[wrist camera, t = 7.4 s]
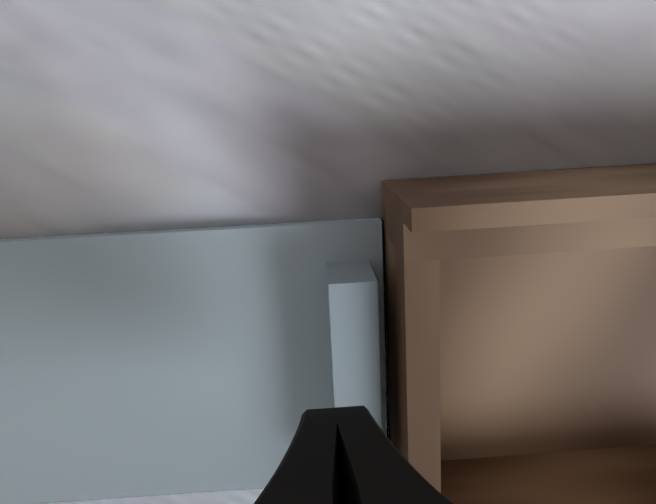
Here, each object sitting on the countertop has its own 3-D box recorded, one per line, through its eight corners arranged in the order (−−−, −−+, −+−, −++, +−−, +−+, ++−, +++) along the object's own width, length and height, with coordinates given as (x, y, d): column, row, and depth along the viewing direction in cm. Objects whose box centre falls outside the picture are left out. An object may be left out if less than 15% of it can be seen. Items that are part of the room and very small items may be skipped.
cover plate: (377, 213, 16) (392, 236, 13) (383, 459, 18) (398, 526, 15) (-149, 243, 16) (-251, 273, 13) (-81, 491, 18) (-157, 565, 15)
